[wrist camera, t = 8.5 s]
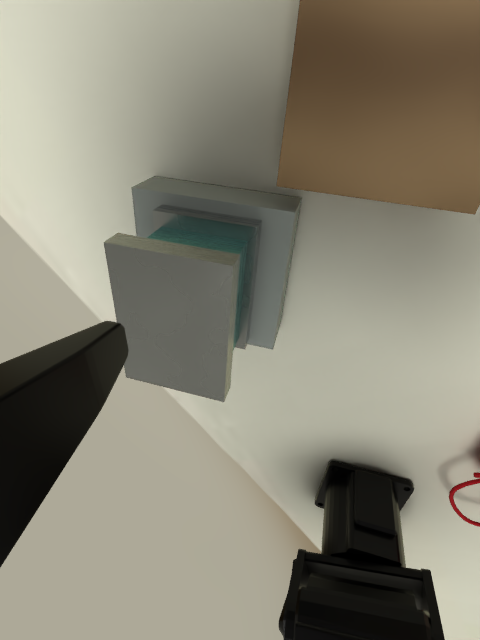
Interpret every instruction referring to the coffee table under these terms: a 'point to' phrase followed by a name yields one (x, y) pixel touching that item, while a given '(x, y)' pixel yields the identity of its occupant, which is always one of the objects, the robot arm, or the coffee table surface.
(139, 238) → the housing
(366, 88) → the stand
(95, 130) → the coffee table surface
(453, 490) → the alarm clock
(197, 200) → the stand
